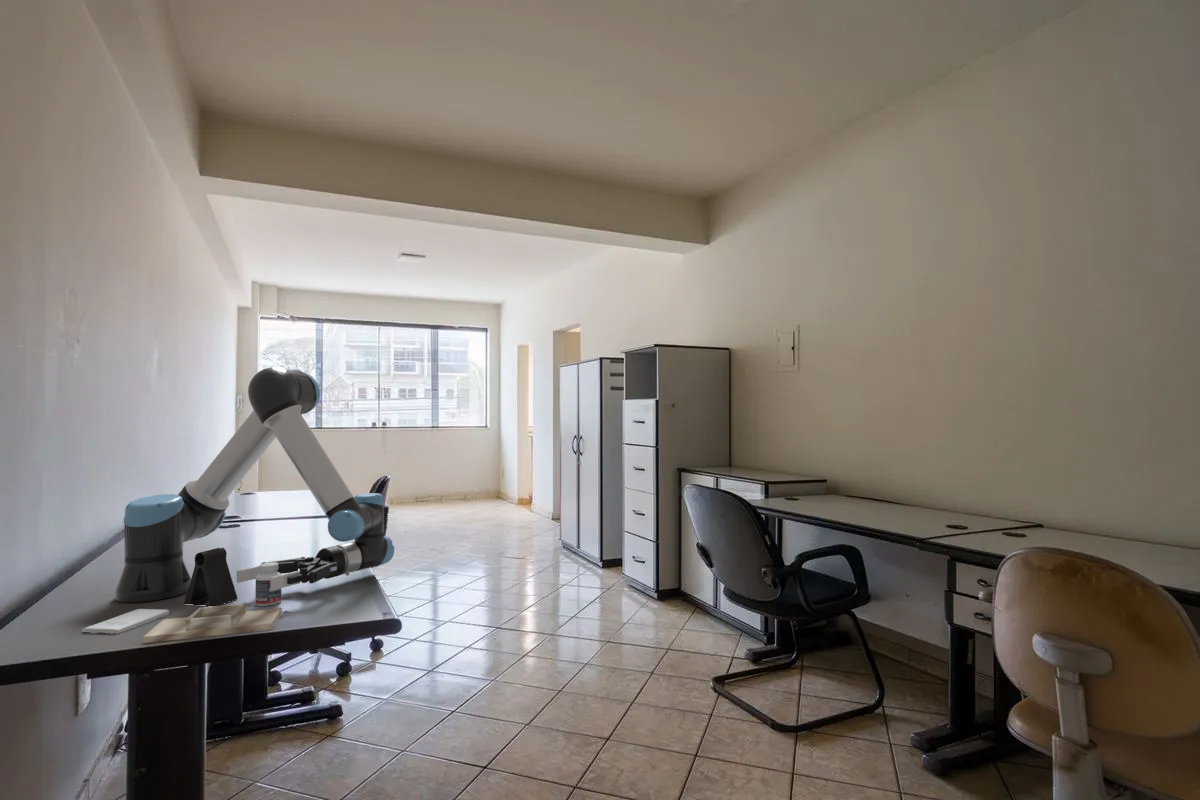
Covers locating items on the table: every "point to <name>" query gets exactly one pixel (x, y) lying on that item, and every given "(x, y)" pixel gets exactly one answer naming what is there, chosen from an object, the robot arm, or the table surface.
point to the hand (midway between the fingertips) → (253, 580)
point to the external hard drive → (126, 621)
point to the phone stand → (211, 580)
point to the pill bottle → (267, 585)
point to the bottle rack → (214, 623)
